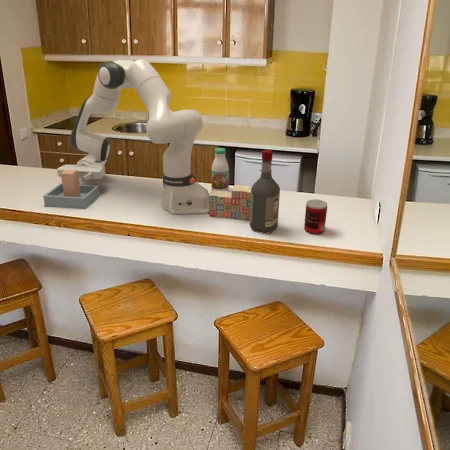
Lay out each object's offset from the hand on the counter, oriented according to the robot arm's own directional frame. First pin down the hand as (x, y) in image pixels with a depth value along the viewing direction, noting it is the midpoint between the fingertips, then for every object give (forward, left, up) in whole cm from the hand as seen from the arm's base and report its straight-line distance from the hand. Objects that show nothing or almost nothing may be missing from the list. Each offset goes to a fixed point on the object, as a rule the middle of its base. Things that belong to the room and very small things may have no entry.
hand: (73, 177), depth 195 cm
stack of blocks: (-72, +8, -9) cm, 73 cm away
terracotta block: (0, +3, -8) cm, 9 cm away
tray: (0, +3, -9) cm, 10 cm away
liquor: (-83, +17, -9) cm, 85 cm away
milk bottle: (-61, -17, -9) cm, 64 cm away
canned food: (-102, +16, -9) cm, 104 cm away
